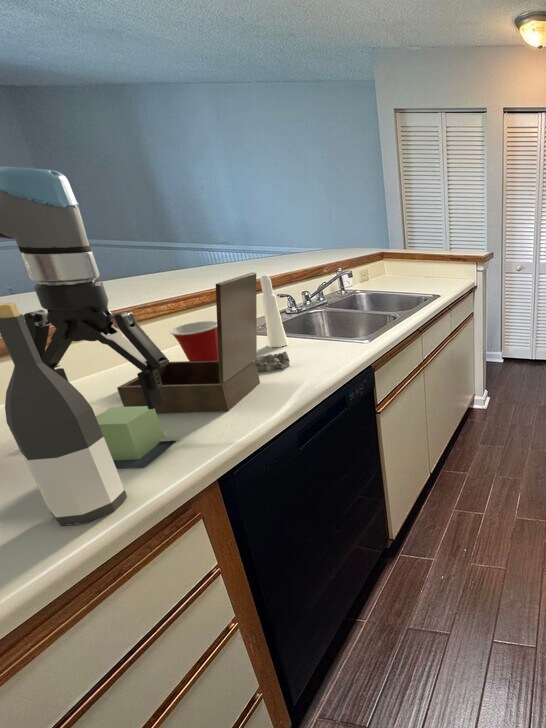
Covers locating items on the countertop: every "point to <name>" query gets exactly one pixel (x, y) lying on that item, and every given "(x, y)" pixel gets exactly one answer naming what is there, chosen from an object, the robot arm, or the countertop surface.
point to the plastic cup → (198, 340)
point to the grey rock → (272, 361)
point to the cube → (130, 431)
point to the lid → (236, 324)
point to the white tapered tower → (272, 315)
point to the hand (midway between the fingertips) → (112, 406)
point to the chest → (194, 388)
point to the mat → (144, 457)
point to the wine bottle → (57, 432)
